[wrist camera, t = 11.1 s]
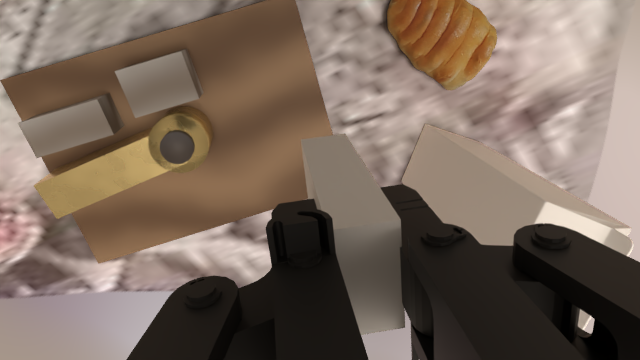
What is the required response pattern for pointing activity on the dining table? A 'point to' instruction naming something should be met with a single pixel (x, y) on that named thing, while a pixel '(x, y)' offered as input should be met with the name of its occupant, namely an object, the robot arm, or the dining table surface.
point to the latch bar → (124, 163)
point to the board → (232, 103)
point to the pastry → (442, 38)
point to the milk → (499, 195)
